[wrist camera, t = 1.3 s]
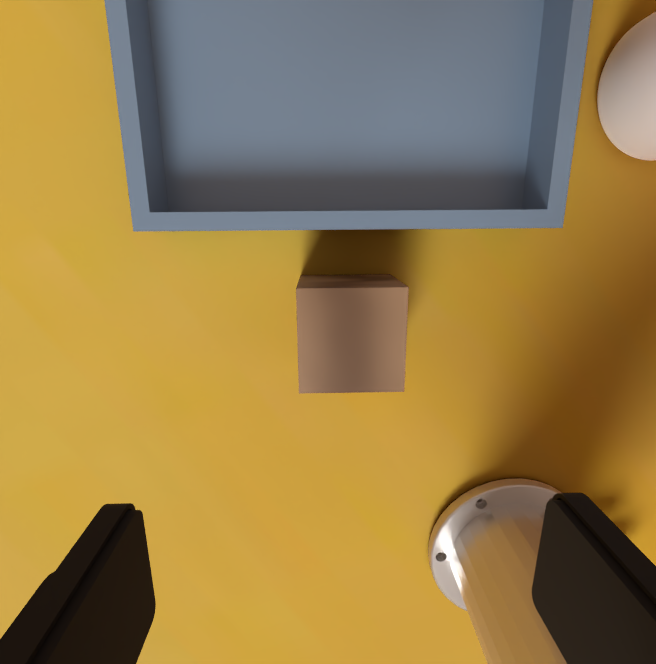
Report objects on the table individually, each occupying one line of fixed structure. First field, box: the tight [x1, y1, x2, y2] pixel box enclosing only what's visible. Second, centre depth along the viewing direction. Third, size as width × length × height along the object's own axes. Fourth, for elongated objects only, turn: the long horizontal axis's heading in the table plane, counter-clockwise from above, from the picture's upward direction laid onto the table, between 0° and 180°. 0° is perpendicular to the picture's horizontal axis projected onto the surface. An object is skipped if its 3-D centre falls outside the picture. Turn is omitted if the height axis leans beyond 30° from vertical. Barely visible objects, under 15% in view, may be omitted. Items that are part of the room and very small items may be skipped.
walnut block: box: [296, 274, 409, 393], centre depth 26 cm, size 6×6×6 cm
